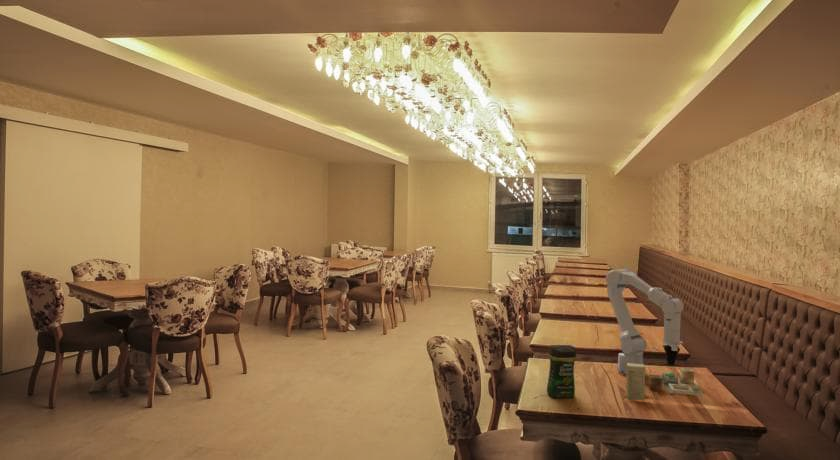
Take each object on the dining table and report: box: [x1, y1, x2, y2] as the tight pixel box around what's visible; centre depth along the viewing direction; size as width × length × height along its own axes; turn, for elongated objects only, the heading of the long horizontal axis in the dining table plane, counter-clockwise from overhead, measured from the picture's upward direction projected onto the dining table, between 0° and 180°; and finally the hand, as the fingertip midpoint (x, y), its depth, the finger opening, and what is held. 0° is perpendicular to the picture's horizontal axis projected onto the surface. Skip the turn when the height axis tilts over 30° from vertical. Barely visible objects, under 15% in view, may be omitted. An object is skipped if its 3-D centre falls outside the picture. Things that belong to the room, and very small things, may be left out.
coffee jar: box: [546, 344, 577, 399], centre depth 199 cm, size 10×8×19 cm
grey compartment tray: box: [663, 378, 704, 397], centre depth 207 cm, size 12×15×2 cm
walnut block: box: [648, 373, 663, 392], centre depth 205 cm, size 4×4×6 cm
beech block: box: [679, 367, 695, 385], centre depth 210 cm, size 4×4×6 cm
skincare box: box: [625, 363, 646, 401], centre depth 198 cm, size 6×4×12 cm
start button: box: [666, 371, 675, 377], centre depth 212 cm, size 3×3×3 cm
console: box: [661, 372, 679, 386], centre depth 212 cm, size 5×5×3 cm
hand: (670, 364), depth 212 cm, fingers closed
